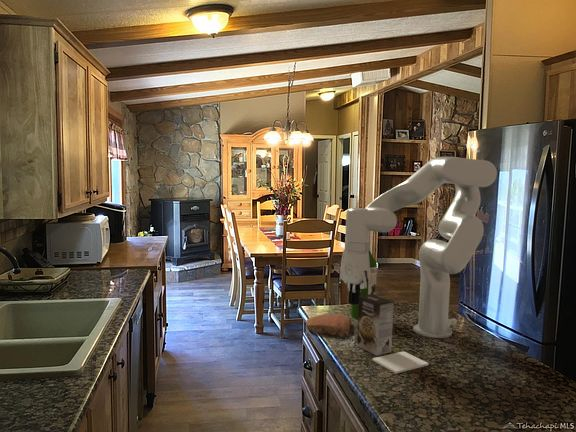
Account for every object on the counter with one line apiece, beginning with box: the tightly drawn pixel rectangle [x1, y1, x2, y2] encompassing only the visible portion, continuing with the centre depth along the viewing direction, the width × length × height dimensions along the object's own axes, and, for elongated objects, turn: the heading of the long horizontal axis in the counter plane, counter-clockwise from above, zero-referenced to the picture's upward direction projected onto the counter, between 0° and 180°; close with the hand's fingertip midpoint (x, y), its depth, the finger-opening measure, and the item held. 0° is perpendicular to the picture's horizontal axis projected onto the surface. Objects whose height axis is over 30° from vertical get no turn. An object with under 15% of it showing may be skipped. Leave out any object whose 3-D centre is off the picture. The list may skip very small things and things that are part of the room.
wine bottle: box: [350, 232, 378, 320], centre depth 180 cm, size 9×9×32 cm
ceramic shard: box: [305, 313, 352, 338], centre depth 166 cm, size 15×6×15 cm
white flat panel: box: [372, 350, 429, 374], centre depth 138 cm, size 12×10×1 cm
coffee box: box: [356, 294, 395, 357], centre depth 148 cm, size 9×6×16 cm
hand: (353, 303), depth 156 cm, fingers closed
